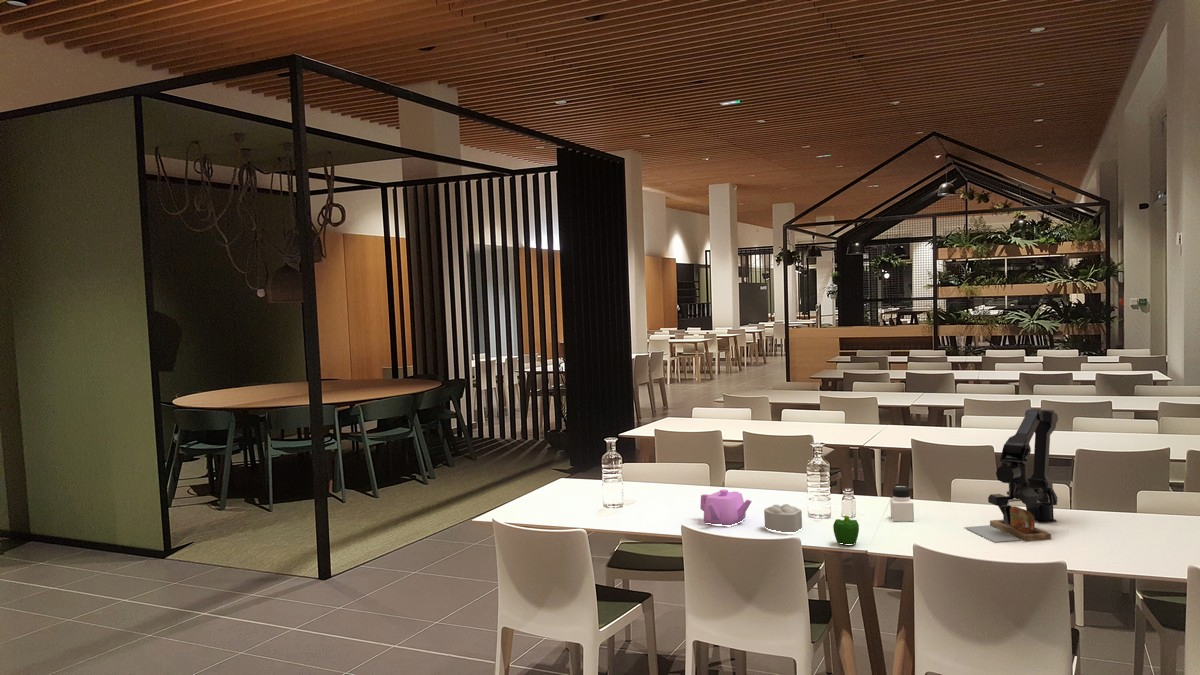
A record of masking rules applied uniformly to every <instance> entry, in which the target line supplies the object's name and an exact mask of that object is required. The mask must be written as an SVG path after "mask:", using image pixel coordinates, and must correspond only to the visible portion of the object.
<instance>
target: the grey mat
mask: <svg viewBox="0 0 1200 675" xmlns="http://www.w3.org/2000/svg"><path fill="white" fill-rule="evenodd" d="M965 528H966V529H965ZM963 529H965V530H967V531H969V532H971V533H973V534H975V535H977V536H980V537H982V538H983V537H984V538H983V539H986V540H987V539H988V541H989V540H990V541H989V542H991V541H992V542H991V543H993V542H994V543H993V544H997V543H998V544H999V543H1010V542H1011V543H1012V542H1021V541H1022V540H1021V539H1019V538H1016V537H1014V536H1012V535H1010V534H1008V533H1005V532H1003V531H1001V530H999V529H997V528H994V527H992V526H990V524H989V525H978V526H977V525H975V526H965V527H964V528H963Z"/></svg>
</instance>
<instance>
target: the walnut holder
mask: <svg viewBox="0 0 1200 675" xmlns="http://www.w3.org/2000/svg"><path fill="white" fill-rule="evenodd" d="M990 525H991V527H992V526H993V527H995V528H996V529H998V530H1000V531H1002V532H1005V533H1007V534H1009V535H1011V536H1013V537H1016V538H1018V539H1020V540H1021V541H1024V542H1033V541H1034V542H1035V541H1037V540H1038V541H1050V539H1051V540H1052V534H1051V533H1050V532H1047V531H1045V530H1042V529H1040V528H1037V527H1035V530H1034V532H1033V534H1026V533H1024V532H1021V531H1019V530H1017V529H1015V528H1012V527H1010V526H1008V525H1005V523H1004V519H992V520H989V526H990Z"/></svg>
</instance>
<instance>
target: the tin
mask: <svg viewBox="0 0 1200 675" xmlns="http://www.w3.org/2000/svg"><path fill="white" fill-rule="evenodd" d="M1011 506H1012V505H1011ZM1002 517H1003V519H1004V523H1005V525H1008V526H1010V527H1012V528H1015V529H1017V530H1019V531H1021V532H1024V533H1026V534H1033V532H1034V530H1035V528H1036V523H1035V522H1036V521H1035V519H1034V517H1033V515H1032V513H1031V512H1029V511H1027V510H1026V509H1023V508H1021V507H1018V506H1015V505H1013V506H1012V507H1011V509H1010V519H1011V521H1010V524H1007V522H1006V520H1005V518H1004V516H1003V515H1002ZM1003 519H1002V520H1003Z"/></svg>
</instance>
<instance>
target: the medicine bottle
mask: <svg viewBox="0 0 1200 675" xmlns="http://www.w3.org/2000/svg"><path fill="white" fill-rule="evenodd" d="M889 501H890V502H889V503H890V517H891V519H892V521H893V522H894V521H913V522H914V521H915V514H914V512H915V511H914V502H913V500H912V499H911V489H910V488H909V487H907V486H905V485H903V486H902V485H900V486H899V485H898V486H895V487H893V488H892V497H891V498H890V499H889Z"/></svg>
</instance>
